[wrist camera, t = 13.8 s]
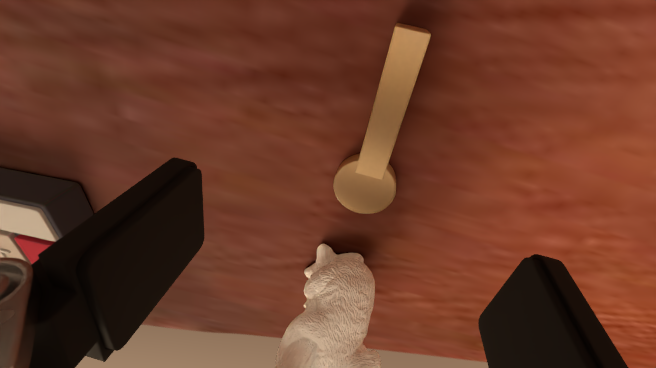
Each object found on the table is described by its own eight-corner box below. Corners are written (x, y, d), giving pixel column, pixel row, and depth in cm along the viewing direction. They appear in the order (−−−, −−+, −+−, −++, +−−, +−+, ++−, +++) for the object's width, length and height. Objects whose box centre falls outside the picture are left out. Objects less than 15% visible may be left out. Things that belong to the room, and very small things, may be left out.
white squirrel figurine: (299, 286, 30) (247, 431, 20) (287, 231, 27) (217, 371, 17) (388, 293, 28) (380, 458, 18) (386, 235, 25) (375, 396, 15)
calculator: (15, 295, 35) (-74, 187, 27) (50, 266, 39) (-18, 163, 30) (99, 316, 34) (34, 210, 25) (128, 285, 37) (79, 182, 29)
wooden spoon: (373, 17, 17) (369, 19, 15) (451, 35, 17) (458, 40, 15) (331, 196, 24) (323, 216, 22) (386, 211, 24) (384, 233, 21)
